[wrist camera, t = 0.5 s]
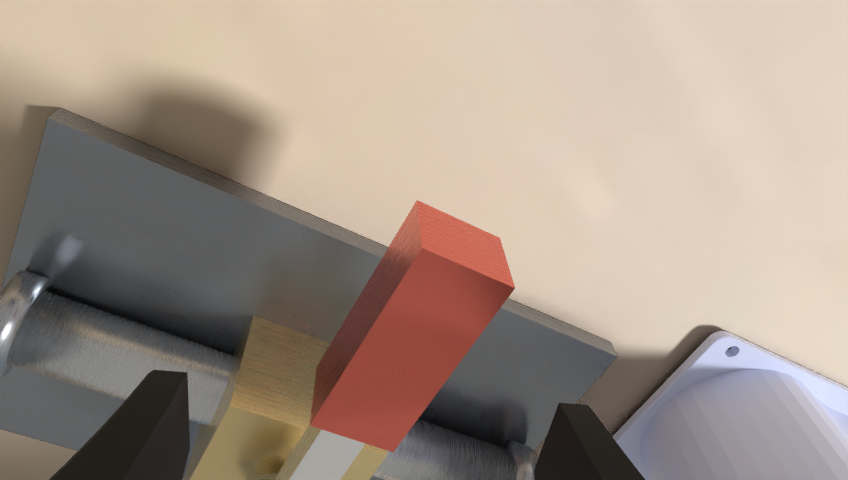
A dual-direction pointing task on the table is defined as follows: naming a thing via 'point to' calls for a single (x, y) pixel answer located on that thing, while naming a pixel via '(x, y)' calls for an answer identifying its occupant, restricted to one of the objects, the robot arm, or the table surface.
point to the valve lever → (400, 341)
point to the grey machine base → (237, 321)
